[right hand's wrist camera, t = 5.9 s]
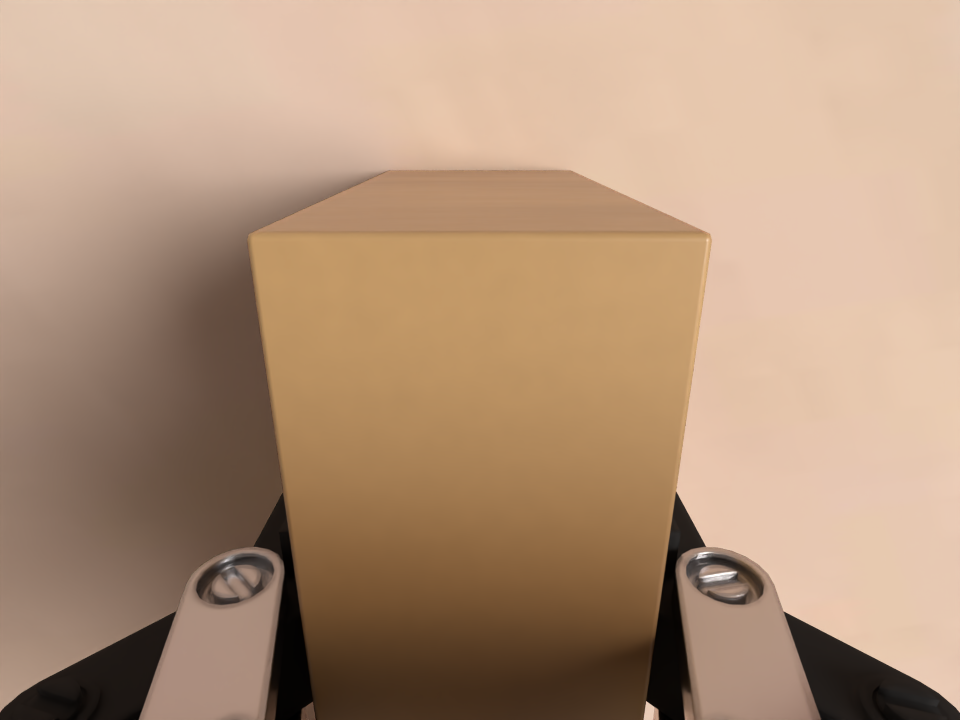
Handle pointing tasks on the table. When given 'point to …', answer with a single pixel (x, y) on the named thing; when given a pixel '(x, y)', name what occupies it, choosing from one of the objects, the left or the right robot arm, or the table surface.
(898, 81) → the table surface
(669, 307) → the beam
